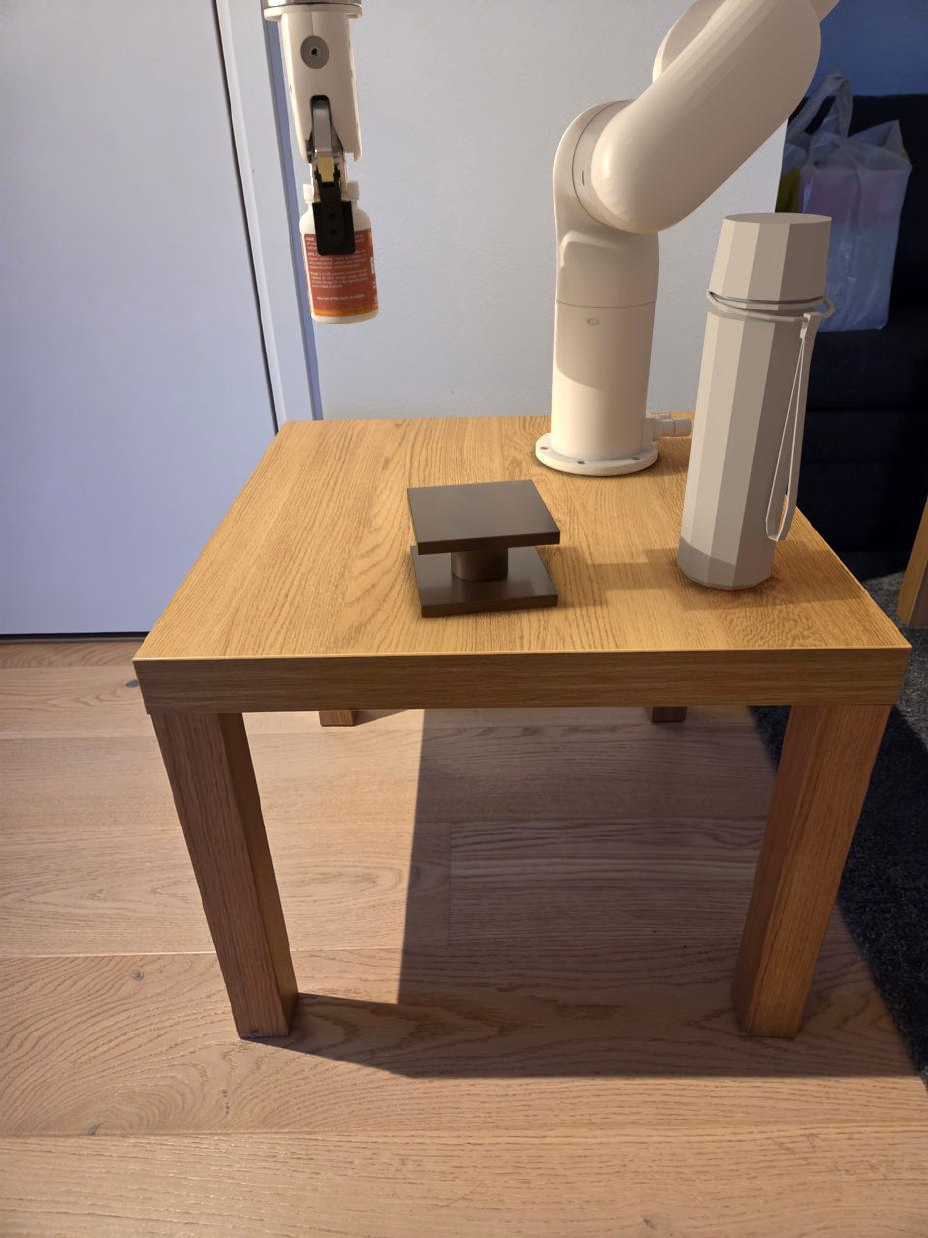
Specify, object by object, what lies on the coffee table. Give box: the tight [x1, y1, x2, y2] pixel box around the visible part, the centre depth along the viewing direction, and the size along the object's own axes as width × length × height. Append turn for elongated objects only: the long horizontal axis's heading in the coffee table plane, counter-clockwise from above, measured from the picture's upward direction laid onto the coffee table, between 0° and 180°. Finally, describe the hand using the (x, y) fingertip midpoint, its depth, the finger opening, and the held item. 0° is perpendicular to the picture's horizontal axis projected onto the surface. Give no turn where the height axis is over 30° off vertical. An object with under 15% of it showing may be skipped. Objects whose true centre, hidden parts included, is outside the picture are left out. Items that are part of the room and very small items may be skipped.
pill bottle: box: [298, 179, 380, 325], centre depth 74 cm, size 6×6×11 cm
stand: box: [406, 478, 561, 619], centre depth 64 cm, size 10×10×6 cm
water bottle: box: [676, 212, 836, 591], centre depth 58 cm, size 9×8×25 cm
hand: (338, 246), depth 74 cm, fingers closed on pill bottle, 6 cm apart
